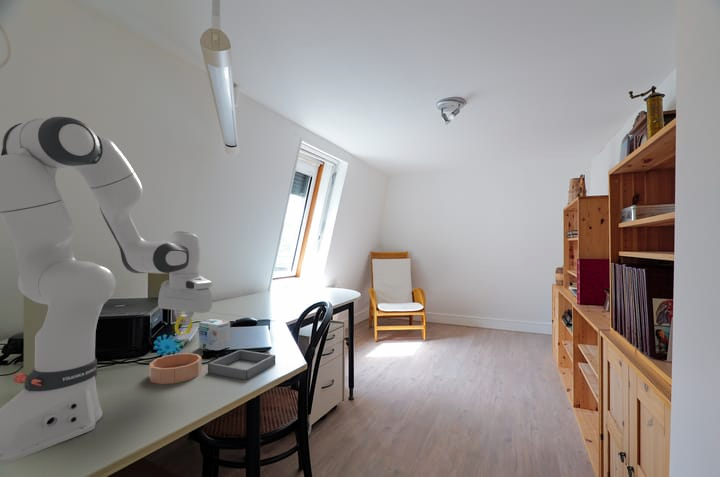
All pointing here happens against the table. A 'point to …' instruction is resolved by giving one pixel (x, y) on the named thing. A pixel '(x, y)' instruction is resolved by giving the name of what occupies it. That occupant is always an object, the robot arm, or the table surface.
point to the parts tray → (222, 369)
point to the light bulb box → (213, 332)
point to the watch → (178, 325)
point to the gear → (167, 345)
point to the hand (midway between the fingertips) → (183, 324)
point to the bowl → (175, 368)
